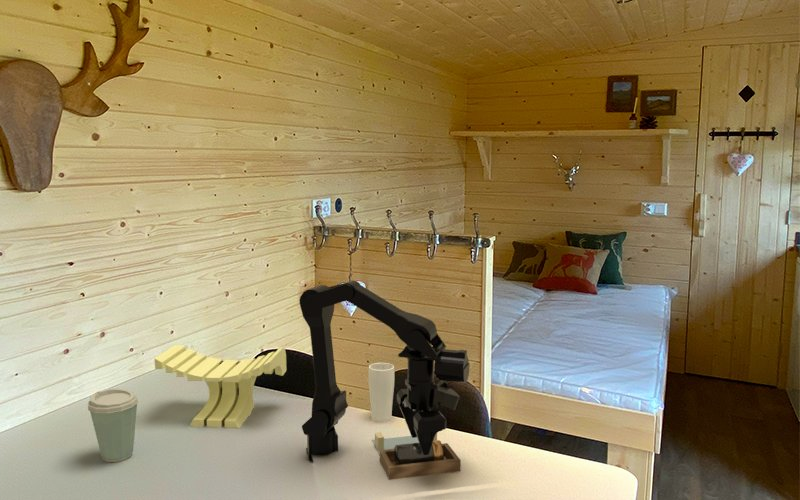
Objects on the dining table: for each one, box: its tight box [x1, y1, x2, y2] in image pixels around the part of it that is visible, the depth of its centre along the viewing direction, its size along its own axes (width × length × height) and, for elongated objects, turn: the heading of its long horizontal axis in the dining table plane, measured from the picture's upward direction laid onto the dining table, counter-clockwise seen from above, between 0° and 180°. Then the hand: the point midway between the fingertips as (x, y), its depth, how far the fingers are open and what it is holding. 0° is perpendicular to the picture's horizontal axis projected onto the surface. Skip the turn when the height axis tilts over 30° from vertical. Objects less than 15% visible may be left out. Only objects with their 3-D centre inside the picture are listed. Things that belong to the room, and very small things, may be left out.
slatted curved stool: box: [154, 344, 287, 429], centre depth 175 cm, size 30×16×18 cm, turn 85°
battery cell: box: [394, 439, 444, 465], centre depth 145 cm, size 10×5×5 cm, turn 104°
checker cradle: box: [371, 431, 438, 457], centre depth 156 cm, size 15×9×4 cm, turn 105°
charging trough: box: [379, 442, 462, 481], centre depth 145 cm, size 16×9×4 cm, turn 105°
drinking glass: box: [368, 362, 395, 423], centre depth 172 cm, size 7×7×15 cm
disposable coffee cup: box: [87, 387, 139, 463], centre depth 150 cm, size 11×11×15 cm
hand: (420, 445), depth 145 cm, fingers open, 9 cm apart
